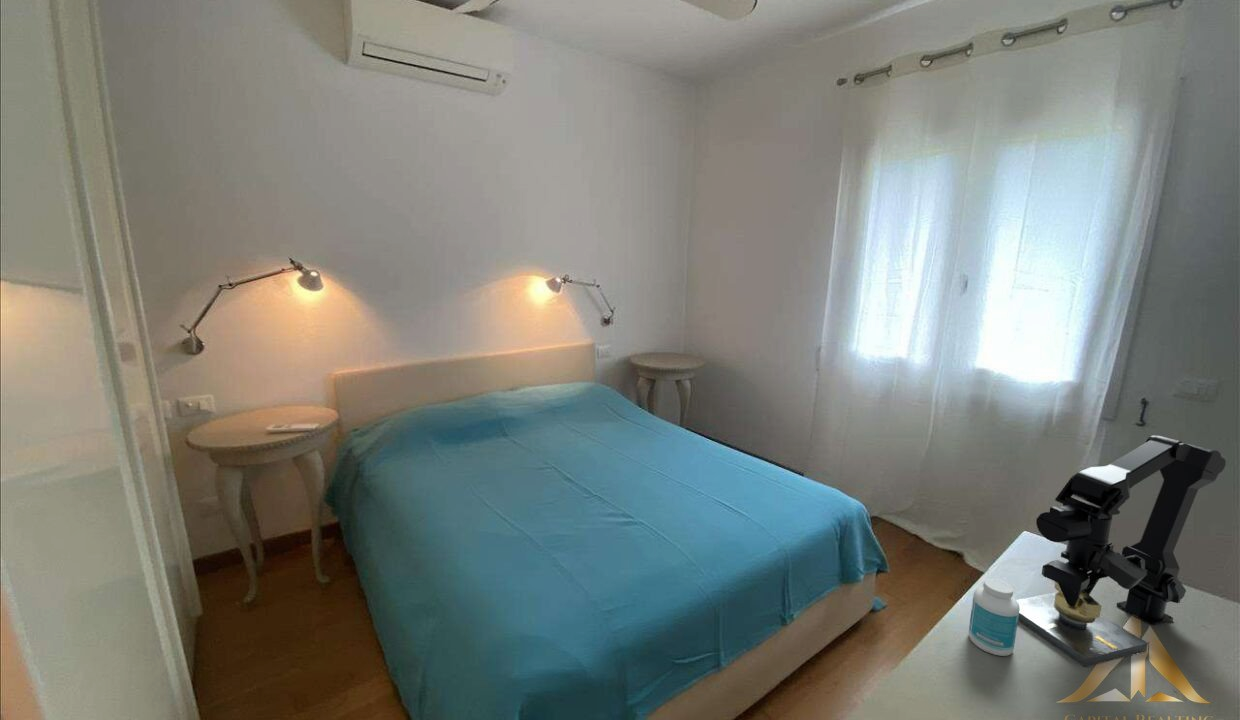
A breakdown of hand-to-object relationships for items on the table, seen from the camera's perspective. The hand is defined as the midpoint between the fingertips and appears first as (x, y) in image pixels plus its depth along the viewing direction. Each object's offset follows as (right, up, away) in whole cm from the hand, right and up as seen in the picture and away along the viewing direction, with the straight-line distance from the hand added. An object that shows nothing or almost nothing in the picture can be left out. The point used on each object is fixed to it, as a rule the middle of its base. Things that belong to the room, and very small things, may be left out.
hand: (1076, 601), depth 100 cm
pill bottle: (-20, -8, -2) cm, 21 cm away
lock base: (0, -7, +2) cm, 7 cm away
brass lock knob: (0, -3, +1) cm, 3 cm away
